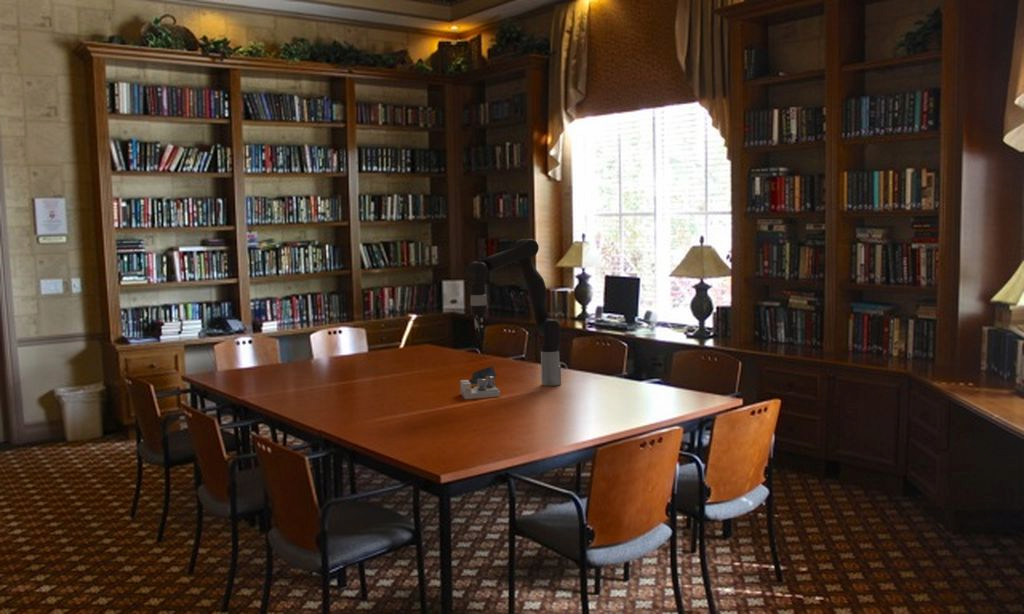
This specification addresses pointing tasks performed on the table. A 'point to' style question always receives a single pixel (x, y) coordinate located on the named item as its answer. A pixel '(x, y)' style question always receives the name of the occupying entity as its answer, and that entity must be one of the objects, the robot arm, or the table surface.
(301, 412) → the table surface
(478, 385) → the cylinder
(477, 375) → the stone
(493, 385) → the grey glossy egg shape
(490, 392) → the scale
